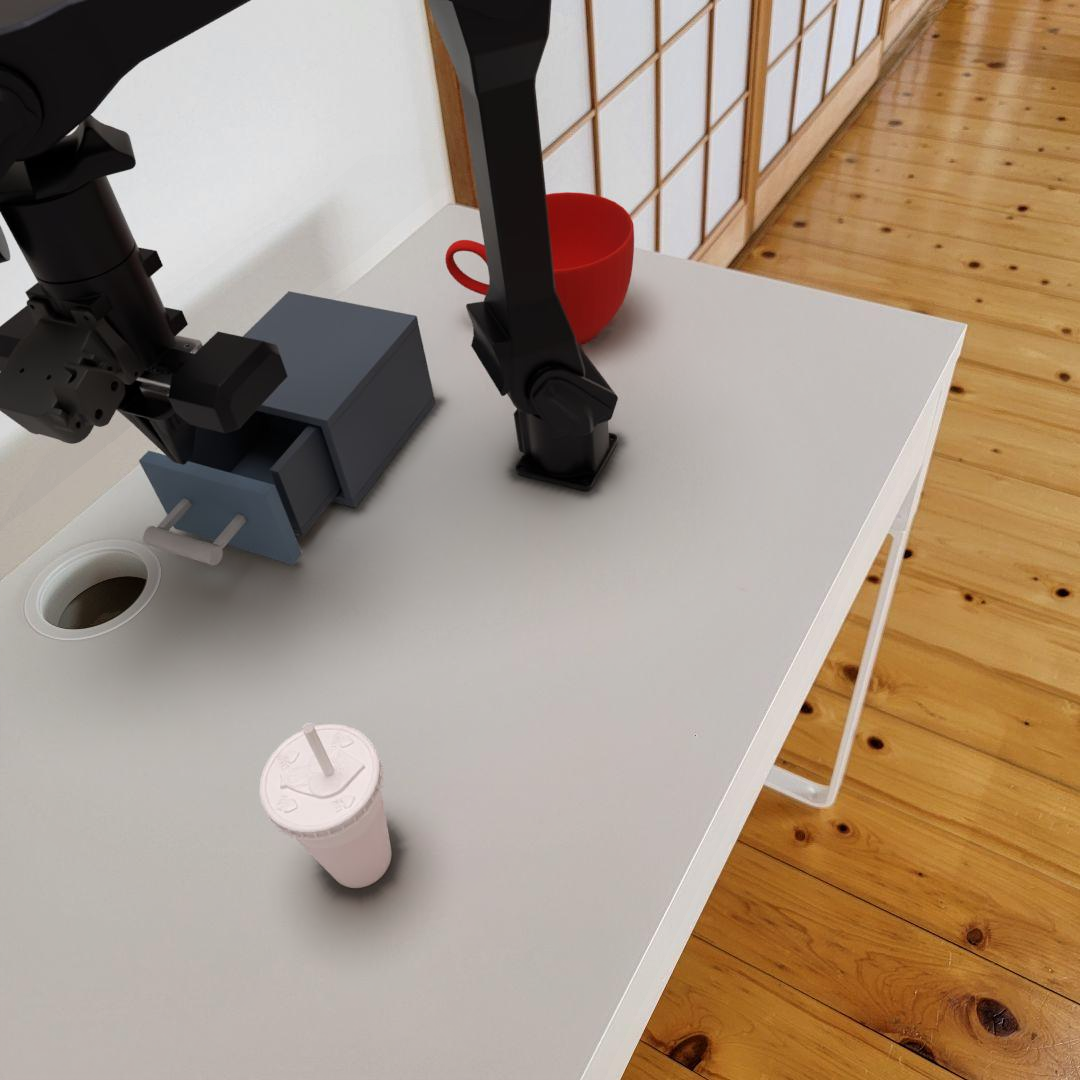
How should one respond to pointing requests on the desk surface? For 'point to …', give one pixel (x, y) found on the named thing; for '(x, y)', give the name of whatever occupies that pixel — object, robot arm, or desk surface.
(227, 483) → the drawer
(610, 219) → the ceramic cup
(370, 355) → the dispenser
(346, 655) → the desk surface
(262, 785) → the smoothie
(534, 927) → the desk surface
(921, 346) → the desk surface
